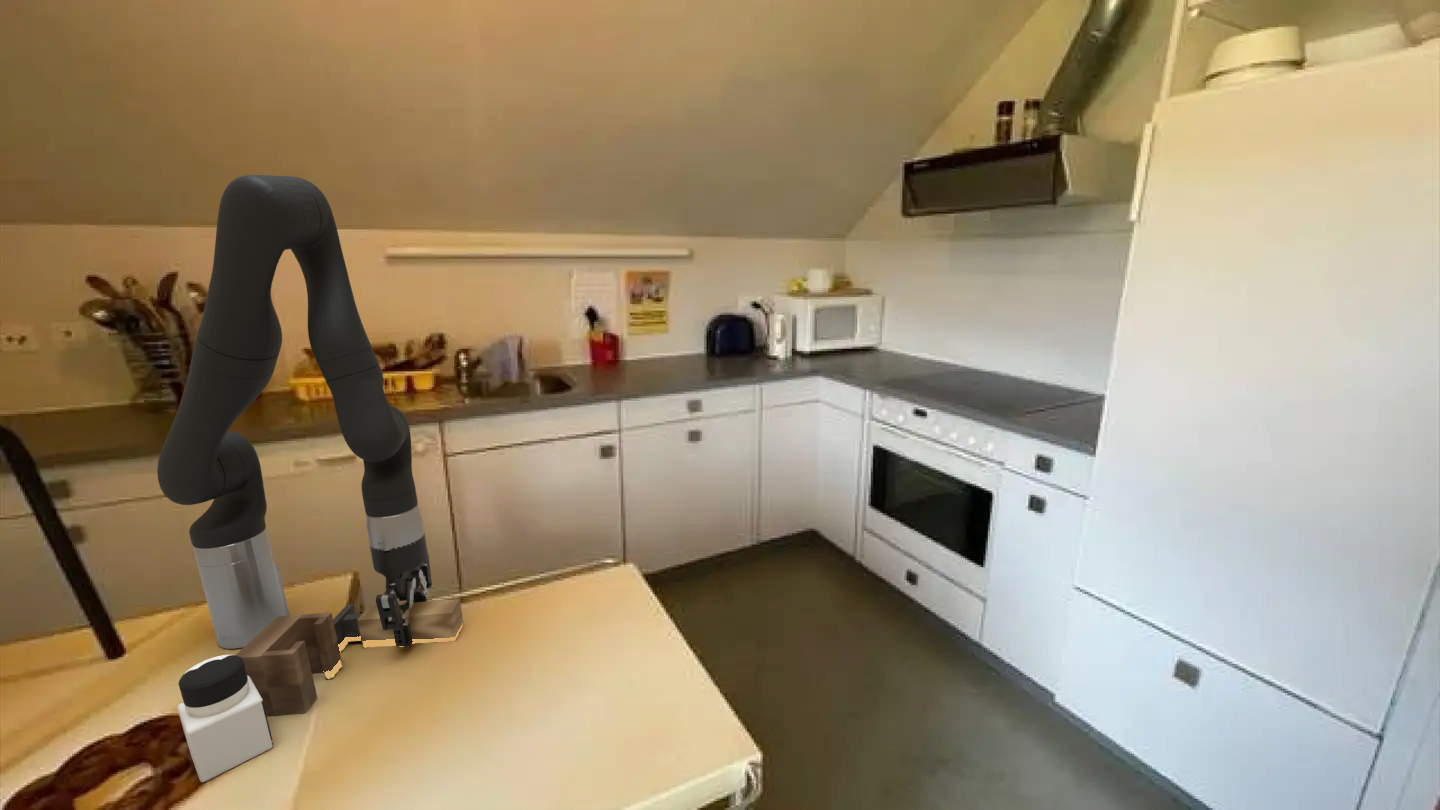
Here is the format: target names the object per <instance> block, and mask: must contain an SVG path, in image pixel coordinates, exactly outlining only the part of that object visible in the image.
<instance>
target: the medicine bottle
mask: <svg viewBox="0 0 1440 810" xmlns="http://www.w3.org/2000/svg"><path fill="white" fill-rule="evenodd" d="M178 688H179V690H180V695H181V697H182V701H183V702H181V703H179V704H178V705H177V712H178V714H179V718H180V722H181V725H182V729H183V733H184V736H185V739H186V740H185V741H186V742H187V746H188V749H189V753H190V757H191V759H192V762H193V765H194V768H195V771H196V773H197V776H198V779H199V781H200V782H201V783H205V782H208V781H209V780H211V779H214V778H215V777H218V776H219V775H221V774H223V773H225V772H227V771H229V770H232V769H233V768H235V767H237V766H238V765H242V764H243V763H245V762H247V761H249V760H251V759H253V758H255V757H257V756H259V755H261V754H262V753H265V752H267V751H269V750H270V749H272V748H273V747H274V740H273V736H272V733H271V732H272V731H271V728H270V724H269V720H268V716H267V715H266V711H265V707H264V703H263V699H262V698H261V696H260V694H259V692H258V691H257V689H256V687H255V685H254V683H253V682H252V680H251V678H250V677H249V676H247V673H246V669H245V665H244V661H243V659H242V658H241V657H239V656H237V655H236V654H223V655H219V656H218V655H217V656H214V657H211V658H208V659H205V660H203V661H200V662H199V663H196V664H195V665H193V666H192V667H190V668H189V669H187V670H186V671H185V672H184V673H183V674H182V676H181V677H180V679H179V681H178Z"/></svg>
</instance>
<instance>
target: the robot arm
mask: <svg viewBox="0 0 1440 810" xmlns="http://www.w3.org/2000/svg"><path fill="white" fill-rule="evenodd" d="M216 221H217V222H216V232H215V243H214V244H215V245H214V252H213V253H214V254H213V263H212V271H211V275H210V276H211V277H210V280H209V284H208V290H207V293H206V294H207V295H206V300H205V304H204V309H203V313H202V318H201V321H200V324H199V326H198V330H197V333H196V337H195V342H194V345H193V349H192V354H191V355H192V356H191V362H190V366H189V371H188V374H187V379H186V382H185V385H184V389H183V392H182V396H181V399H180V403H179V405H178V408H177V412H176V415H175V417H174V419H173V421H172V425H171V427H170V429H169V431H168V434H167V436H166V438H165V441H164V443H163V446H162V449H161V451H160V453H159V457H158V462H157V468H156V473H157V475H156V476H157V480H158V485H159V488H160V489H161V492H162V493H163V495H164V496H165V497H166V498H167V499H168V500H169V501H171V502H172V503H175V504H178V505H181V506H193V505H198V504H203V503H206V502H208V501H211V500H213V501H212V503H211V504H210V506H209V507H208V508H207V510H206V511H205V512H203V513H202V515H200V516H199V517H198V518H197V519H196V520H195V521H193V523H192V524H191V526H190V527H189V532H188V533H189V539H190V542H191V545H192V549H193V553H194V556H195V557H194V558H195V561H196V564H197V568H198V572H199V577H200V580H201V585H202V588H203V590H204V595H205V600H206V603H207V606H208V610H209V614H210V617H211V618H210V619H211V622H212V627H213V630H214V634H215V638H216V642H217V645H218V646H219V647H220V648H223V649H229V650H230V649H240V648H241V649H243V648H244V647H245V646H246V645H247V644H248V643H249V642H250V641H251V640H252V639H253V638H254V637H256V636H257V635H258V634H259V633H260V632H261V631H262V630H263V629H264V628H265V627H266V626H267V625H269V624H270V623H271V622H272V621H273V620H274V619H275V618H276V617H280V616H290V611H289V606H288V603H287V599H286V598H287V597H286V594H285V589H284V584H283V580H282V575H281V571H280V568H279V564H276V563H275V560H274V555H273V550H272V545H271V543H270V537H269V533H268V528H267V525H266V520H265V519H266V515H267V508H268V507H267V506H268V504H267V498H266V492H265V487H264V480H263V474H262V473H263V472H262V466H261V463H260V459H259V456H258V454H257V453H258V452H257V451H256V449H255V447H254V445H253V444H252V443H251V441H250V440H248V438H246V436H244V435H242V434H240V432H235V431H229V429H230V428H231V427H232V426H233V424H234V423H235V422H236V421H237V420H238V419H239V417H240V416H241V415H242V414H243V413H244V412H245V411H246V410H247V409H248V408H249V407H250V406H251V405H252V404H253V403H254V401H256V399H257V398H258V397H260V395H261V393H263V391H264V390H265V388H266V387H267V386H268V385H269V383H270V381H271V380H272V377H273V375H274V372H275V369H276V364H277V362H278V358H279V357H280V356H279V355H280V351H281V348H282V345H283V343H282V342H283V331H282V326H281V323H280V320H279V317H278V314H277V312H276V309H275V307H274V304H273V301H272V286H273V281H274V277H275V274H276V269H277V267H278V265H279V262H280V259H281V257H282V255H283V253H284V252H285V250H291V252H292V254H293V255H294V257H295V259H296V261H297V263H298V265H299V267H300V269H301V272H302V275H303V277H304V283H305V287H306V293H307V335H308V340H309V345H310V349H311V351H312V354H313V356H314V360H315V362H316V363H317V365H318V369H319V370H320V372H321V374H322V377H323V379H324V381H325V383H326V385H327V387H328V389H329V391H330V392H331V396H332V400H333V404H334V409H335V413H336V416H337V421H338V426H339V427H340V431H341V434H342V437H343V439H344V441H345V443H346V445H347V446H348V449H349V450H351V452H352V453H353V454H354V455H355V456H356V457H358V458H359V459H361V460H363V466H364V472H363V476H362V480H361V494H362V495H361V496H362V500H363V506H364V511H365V518H366V521H365V523H366V524H365V525H366V526H365V527H366V533H367V534H366V535H367V539H368V544H369V549H370V555H371V561H372V565H373V569H374V571H375V572H376V573H377V574H381V575H383V577H384V578H385V591H384V593H383V594H377V595H376V597H375V604H376V605H377V608H378V612H379V616H380V620H381V624H382V628H383V630H393V632H394V638H395V643H396V646H395V647H397V646H409V647H411V646H412V645H411V644H412V642H413V641H412V635H411V630H410V624H409V610H410V609H411V608H412V607H413V602H426V601H428V597H429V589H432V586H433V584H432V583H433V582H432V581H433V580H432V573H431V572H432V571H431V565H430V555H429V553H428V546H427V540H426V534H425V527H424V522H423V517H422V516H423V515H422V512H421V510H420V507H419V503H418V501H419V500H418V495H417V490H416V485H415V483H416V482H415V479H414V476H413V467H412V466H413V465H412V463H413V461H412V457H413V455H412V437H411V436H412V435H411V430H410V429H411V428H410V425H409V422H408V418H407V417H406V415H405V413H403V412H402V411H401V410H400V409H399V408H398V407H396V406H394V405H391V404H389V401H388V399H387V397H386V393H385V391H384V383H385V381H384V380H385V379H384V374H383V371H382V367H381V366H380V363H379V361H378V358H377V356H376V354H375V351H374V348H373V347H372V344H371V342H370V340H369V338H368V335H367V332H366V329H365V328H364V325H363V322H362V319H361V316H360V313H359V311H358V307H357V303H356V301H355V296H354V293H353V289H352V286H351V281H350V277H349V273H348V269H347V266H346V261H345V258H344V254H343V253H344V252H343V249H342V245H341V240H340V236H339V232H338V227H337V224H336V221H335V218H334V213H333V210H332V208H331V205H330V203H329V201H328V199H327V197H326V195H325V194H324V193H323V191H321V189H320V188H319V187H318V186H316V185H315V184H314V183H313V182H311V181H309V180H307V179H304V178H301V177H298V176H293V175H291V176H289V175H275V174H271V175H269V174H245V175H241V176H238V177H236V178H234V179H233V180H232V181H230V182H229V183H228V184H227V186H226V187H225V189H224V191H223V193H222V196H221V198H220V202H219V207H218V214H217V220H216ZM404 601H406V602H404ZM399 602H404V603H405V604H401V605H399ZM400 610H402V611H403V616H401V612H400ZM388 617H389V619H388Z"/></svg>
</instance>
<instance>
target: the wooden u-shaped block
mask: <svg viewBox="0 0 1440 810" xmlns="http://www.w3.org/2000/svg"><path fill="white" fill-rule="evenodd" d="M333 619H334V617H333V613H332V612H321V613H319V612H318V613H310V614H309V613H308V614H298V615H297V614H296V615H288V616H280V617H276V618H275V619H274V620H273V621H272V622H271V623H270V624H269V625H267V626H266V627H265V628H264V629H263V630H262V631H261V632H260V633H259V634H258V635H257V636H256V637H254V638H253V639H252V640H251V641H250V642H249V643H248V644H247V645H246V646H245V647H242V648H241V649H240V650H239V651H238V652H237V653H236V654H235V655H237V656H239V657H241V658H242V659H243V661H244V665H245V669H246V673H247V676H249V677H250V678H251V680H252V682H253V683H254V685H255V687H256V689H257V691H258V692H259V694H260V696H261V698H262V699H263V703H264V707H265V711H266V715H267V717H274V716H286V715H296V714H307V712H308V711H309V710H310V708H311V707H312V706H313V705H314V703H315V702H316V701H317V700H316V698H317V699H318V693H317V691H316V685H315V681H314V678H313V677H314V676H313V674H317V673H318V674H319V673H324V672H326V671H328V670H329V671H331V670H332V669H333V667H334V666H335V665H336V664H337V663H338V661H339V660H340V659H341V660H342V657H341V656H342V655H341V653H340V651H339V647H338V642H337V637H336V632H335V627H334V622H333ZM323 671H324V672H323Z"/></svg>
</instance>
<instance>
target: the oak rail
mask: <svg viewBox="0 0 1440 810" xmlns="http://www.w3.org/2000/svg"><path fill="white" fill-rule="evenodd" d="M398 603H399V602H398ZM405 603H406V602H404V603H403V602H402V603H399V605H401V604H405ZM461 604H462V603H461V599H460V598H456V599H455V598H454V599H443V600H429V601H428V600H427V601H426V602H413V607H412V608H411V609H410V610H409V624H410V630H411V635H412V639H434V638H450V637H455V636H456V634H457V632H458V630H459V629H460V627H461V625H462V623H463V624H464V619H463V613H462V611H463V610H462V605H461ZM400 612H401V616H403V611H402V610H400ZM388 619H389V617H388ZM333 622H334V627H335V632H336V637H337V642H338V644H340V643H341V642H342V641H343V640H344V638H345V637H357V636H358V637H359V636H361V641H366V640H386V639H395V638H394V632H393V630H383V628H382V624H381V620H380V616H379V612H378V608H377V604H376V605H375V604H374V605H369V606H368V607H367V608H366V609H365V610H364V612H358V613H355V608H354V604H346V605H345V606H344V607H343V608H342V609H341V610H340V611H339V613H338V614H337V615H336V616H334V617H333Z"/></svg>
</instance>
